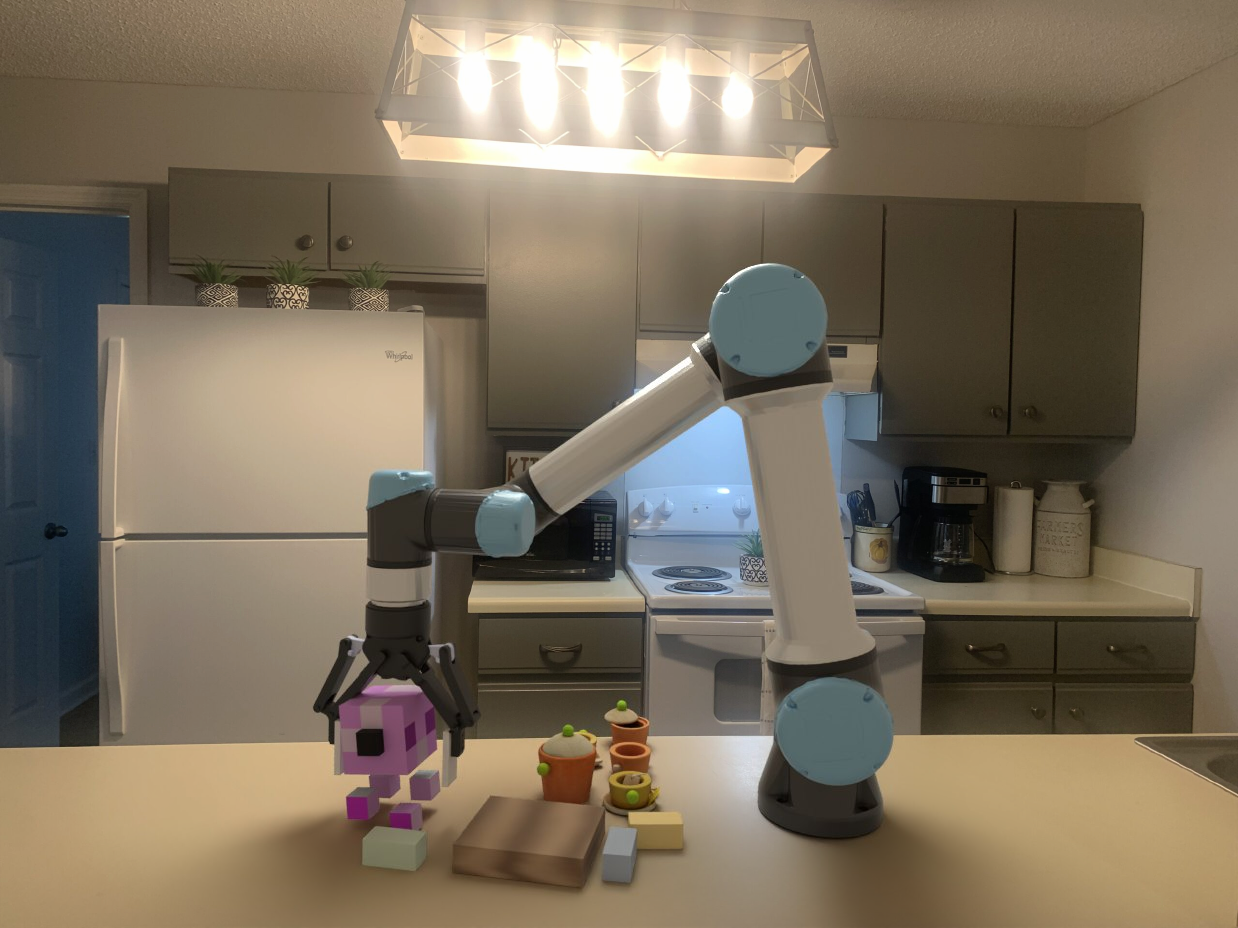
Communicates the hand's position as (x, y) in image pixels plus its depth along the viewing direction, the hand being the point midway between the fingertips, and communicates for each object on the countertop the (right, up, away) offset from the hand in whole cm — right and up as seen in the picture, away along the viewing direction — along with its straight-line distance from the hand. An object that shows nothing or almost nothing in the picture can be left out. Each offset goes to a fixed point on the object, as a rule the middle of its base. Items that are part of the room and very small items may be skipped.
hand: (395, 776), depth 98 cm
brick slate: (+27, -6, -10) cm, 29 cm away
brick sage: (+2, -6, -9) cm, 11 cm away
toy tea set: (+24, -6, +14) cm, 29 cm away
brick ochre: (+31, -6, -4) cm, 32 cm away
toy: (0, -5, 0) cm, 5 cm away
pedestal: (+17, -6, -7) cm, 19 cm away
